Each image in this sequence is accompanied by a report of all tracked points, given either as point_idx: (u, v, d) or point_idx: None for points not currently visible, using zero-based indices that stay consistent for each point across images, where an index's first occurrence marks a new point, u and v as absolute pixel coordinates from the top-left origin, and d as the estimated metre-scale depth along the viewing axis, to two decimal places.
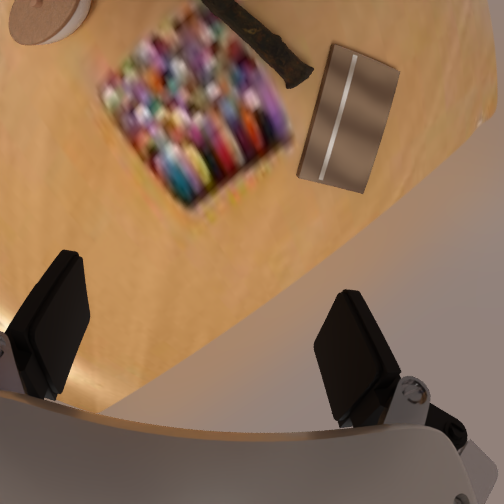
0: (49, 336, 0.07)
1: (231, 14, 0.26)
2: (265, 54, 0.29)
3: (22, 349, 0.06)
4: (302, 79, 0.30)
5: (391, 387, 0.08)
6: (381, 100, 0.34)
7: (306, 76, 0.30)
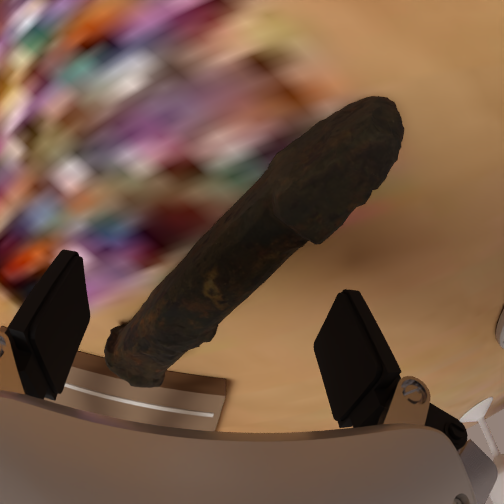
0: (49, 336, 0.07)
1: (265, 233, 0.11)
2: (153, 317, 0.13)
3: (22, 349, 0.06)
4: (125, 379, 0.15)
5: (391, 387, 0.08)
6: None
7: (134, 386, 0.15)
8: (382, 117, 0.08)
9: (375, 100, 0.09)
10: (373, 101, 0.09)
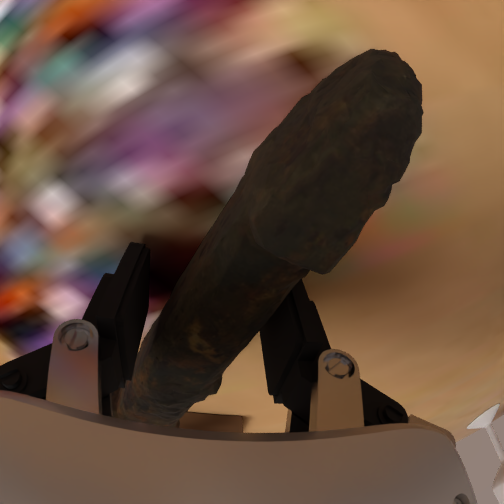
0: (130, 323, 0.08)
1: (250, 269, 0.08)
2: (144, 377, 0.10)
3: (105, 336, 0.07)
4: None
5: None
6: None
7: None
8: (387, 73, 0.05)
9: (371, 53, 0.06)
10: (368, 54, 0.06)
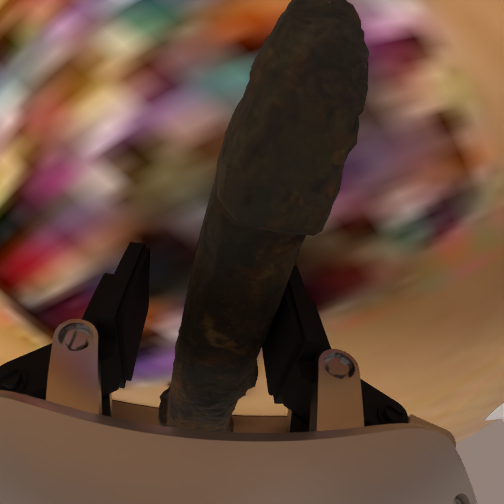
0: (130, 323, 0.08)
1: (240, 248, 0.07)
2: (179, 383, 0.10)
3: (105, 336, 0.07)
4: None
5: None
6: None
7: None
8: (310, 5, 0.04)
9: None
10: None
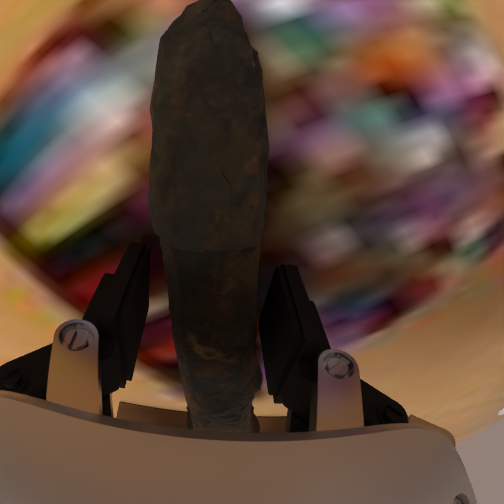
0: (130, 323, 0.08)
1: (195, 269, 0.08)
2: (189, 395, 0.11)
3: (105, 336, 0.07)
4: None
5: None
6: None
7: None
8: (184, 22, 0.04)
9: (183, 11, 0.05)
10: None
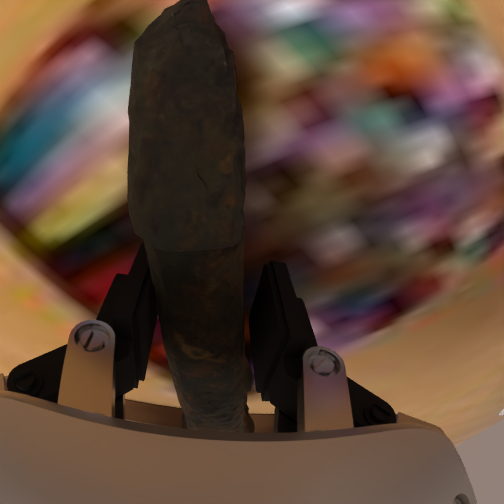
0: (145, 323, 0.08)
1: (178, 269, 0.07)
2: (180, 395, 0.11)
3: (121, 337, 0.07)
4: None
5: None
6: None
7: None
8: (158, 25, 0.04)
9: None
10: None
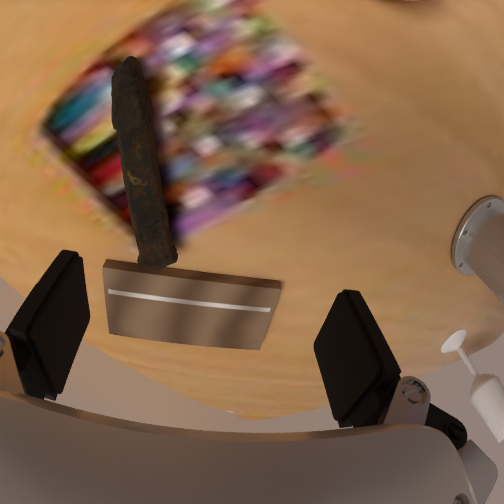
0: (49, 336, 0.07)
1: (127, 141, 0.21)
2: (132, 216, 0.24)
3: (22, 349, 0.06)
4: (152, 267, 0.27)
5: (391, 387, 0.08)
6: (220, 337, 0.35)
7: (158, 268, 0.27)
8: (117, 71, 0.17)
9: None
10: None
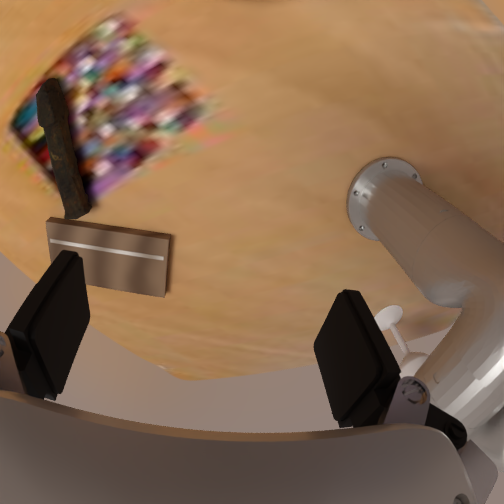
0: (49, 336, 0.07)
1: (48, 133, 0.28)
2: None
3: (22, 349, 0.06)
4: (71, 218, 0.34)
5: (391, 387, 0.08)
6: (130, 283, 0.42)
7: (74, 217, 0.33)
8: (39, 90, 0.24)
9: None
10: None
